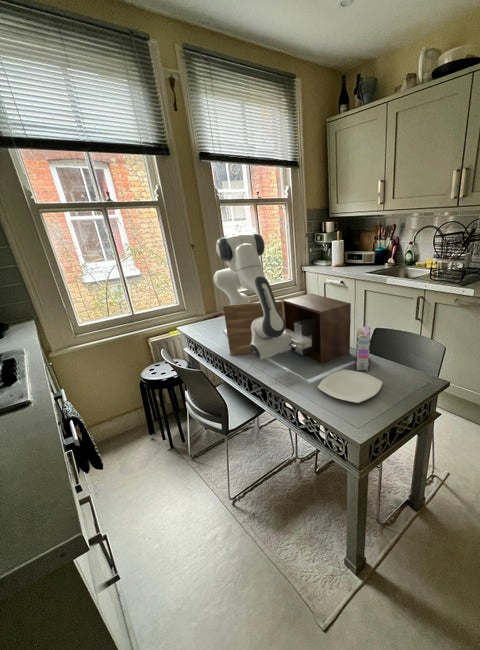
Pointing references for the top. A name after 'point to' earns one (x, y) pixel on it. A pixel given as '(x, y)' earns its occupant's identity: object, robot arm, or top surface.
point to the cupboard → (322, 324)
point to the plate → (350, 386)
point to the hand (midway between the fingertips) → (306, 334)
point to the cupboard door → (242, 324)
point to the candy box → (363, 348)
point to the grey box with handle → (306, 332)
